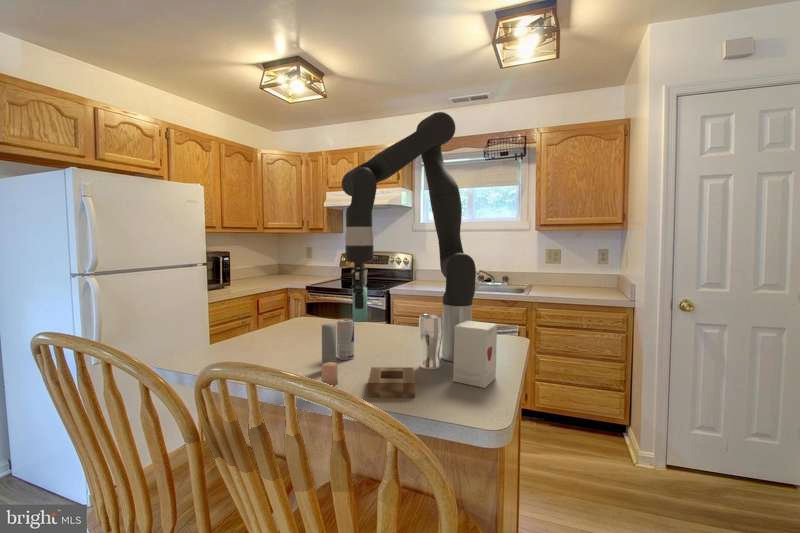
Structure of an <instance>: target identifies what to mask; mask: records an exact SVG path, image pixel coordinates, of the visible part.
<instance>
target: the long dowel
mask: <svg viewBox="0 0 800 533" xmlns="http://www.w3.org/2000/svg"><path fill="white" fill-rule="evenodd" d="M328 362H334V363H337V324H335V323H324V324H322V325H321V365H322V364H324V363H328Z"/></svg>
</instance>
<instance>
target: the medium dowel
mask: <svg viewBox="0 0 800 533" xmlns="http://www.w3.org/2000/svg"><path fill="white" fill-rule="evenodd" d="M356 289H361V287H356ZM351 290H352V293H351V294H352V296H351V297H352V319H353V321H354V323H365V322H368V287H367V286H366V287H364V295H363V304H364V307H363V309H356V308H355V295H354V293H353V287H352V289H351Z"/></svg>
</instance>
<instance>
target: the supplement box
mask: <svg viewBox="0 0 800 533" xmlns="http://www.w3.org/2000/svg"><path fill="white" fill-rule="evenodd" d="M497 333H498V323H493V322H483V321H476V320H475V321H474V320H472V321H468V320H467V321H465V322H463V323H460V324H458V325H456V326H455V328H454V362H453V369H452V370H453V374H452V376H453V378H452V381H453V382H456V383H459V384H460V383H461V384H464V385H468V386H469V385H470V386H474V387H477V388H483V389H486V388H487V387H488V386H489V385H490V384H491V383H493V381H494V380H495V379H496V378H497V376H496V375H497V339H498V338H497V337H498V334H497Z"/></svg>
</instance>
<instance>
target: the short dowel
mask: <svg viewBox="0 0 800 533" xmlns="http://www.w3.org/2000/svg"><path fill="white" fill-rule="evenodd" d="M338 369H339V364H338V363H337V362H336V363H334V362H328V363H324V364H322V363H321V383H322V382H324V383H327V384H329V385H333V386H332V387H335V386H337V385H338V384H339V380H338V379H339V376H338V375H339V373H338V372H339V371H338Z"/></svg>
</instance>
